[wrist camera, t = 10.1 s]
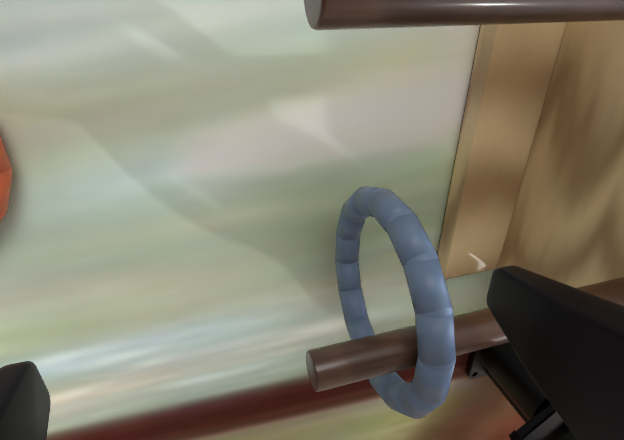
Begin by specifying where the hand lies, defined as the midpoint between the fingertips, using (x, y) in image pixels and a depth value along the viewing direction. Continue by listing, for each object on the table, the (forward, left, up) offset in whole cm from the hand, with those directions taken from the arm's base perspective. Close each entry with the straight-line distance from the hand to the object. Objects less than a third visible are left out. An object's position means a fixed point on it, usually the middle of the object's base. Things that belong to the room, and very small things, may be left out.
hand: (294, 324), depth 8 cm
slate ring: (-6, -5, -6) cm, 10 cm away
